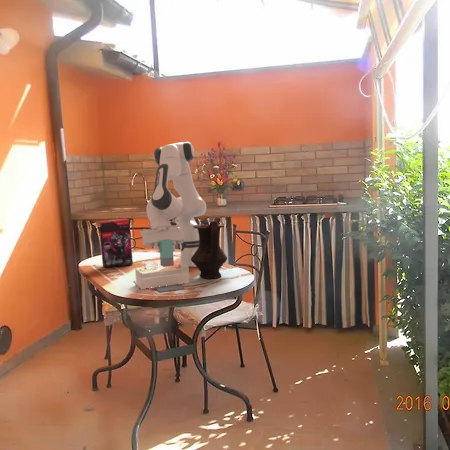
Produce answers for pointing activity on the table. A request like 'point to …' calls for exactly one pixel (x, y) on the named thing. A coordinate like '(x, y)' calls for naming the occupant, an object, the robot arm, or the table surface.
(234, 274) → the table surface
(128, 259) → the graphics card box
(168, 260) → the teal box
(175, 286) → the slate mat
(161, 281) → the carton
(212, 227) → the jug
